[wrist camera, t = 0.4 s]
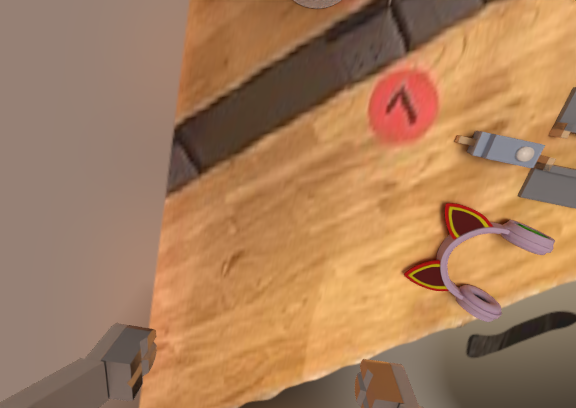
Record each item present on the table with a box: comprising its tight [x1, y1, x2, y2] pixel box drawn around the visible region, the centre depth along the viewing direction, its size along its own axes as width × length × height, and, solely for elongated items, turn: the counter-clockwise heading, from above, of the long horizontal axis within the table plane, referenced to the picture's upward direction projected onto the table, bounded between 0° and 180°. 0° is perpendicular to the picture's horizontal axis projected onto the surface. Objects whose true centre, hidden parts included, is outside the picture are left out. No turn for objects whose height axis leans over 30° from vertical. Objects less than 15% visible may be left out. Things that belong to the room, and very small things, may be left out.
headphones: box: [404, 203, 555, 322], centre depth 57 cm, size 20×10×20 cm
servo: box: [455, 131, 545, 168], centre depth 50 cm, size 4×12×7 cm, turn 79°
